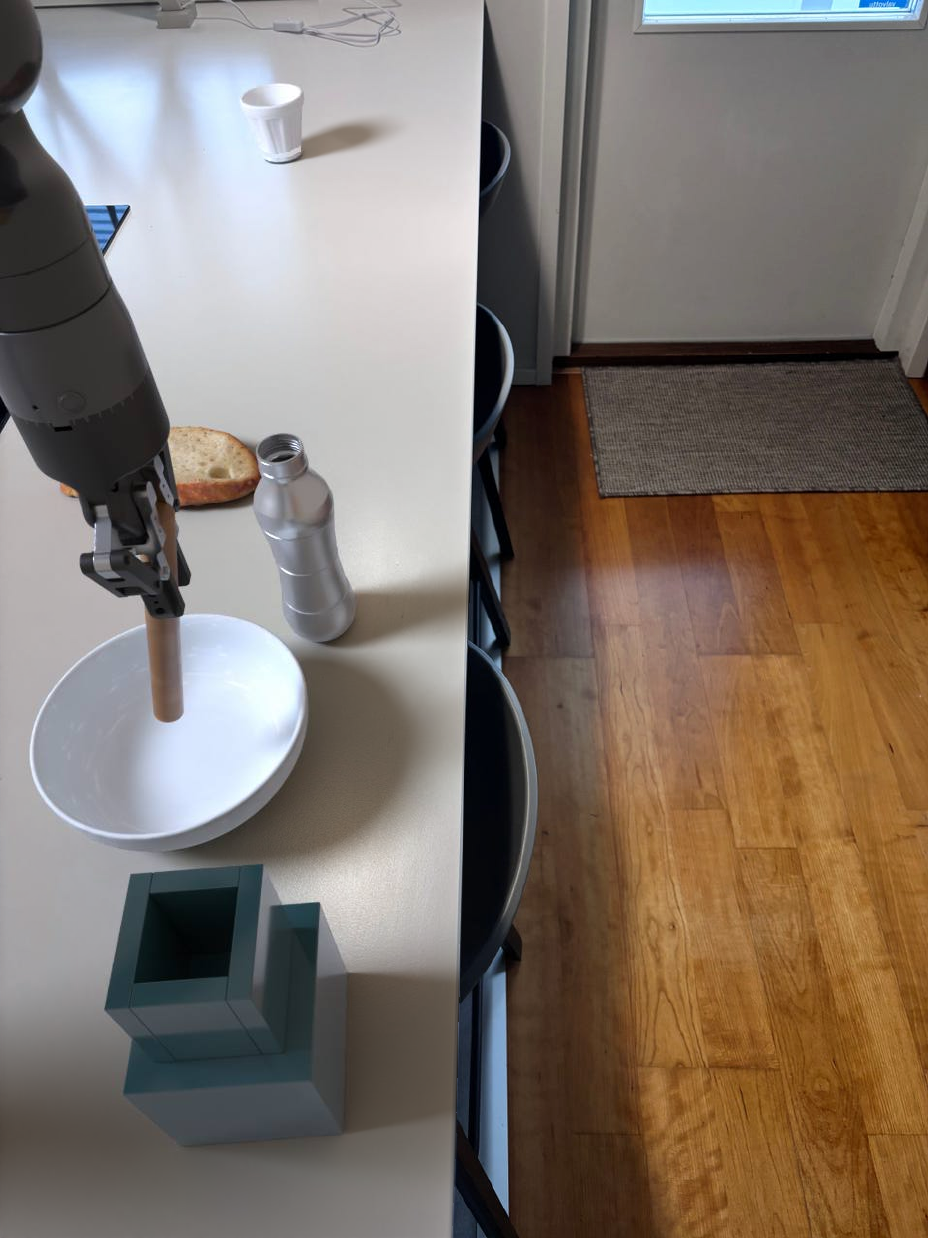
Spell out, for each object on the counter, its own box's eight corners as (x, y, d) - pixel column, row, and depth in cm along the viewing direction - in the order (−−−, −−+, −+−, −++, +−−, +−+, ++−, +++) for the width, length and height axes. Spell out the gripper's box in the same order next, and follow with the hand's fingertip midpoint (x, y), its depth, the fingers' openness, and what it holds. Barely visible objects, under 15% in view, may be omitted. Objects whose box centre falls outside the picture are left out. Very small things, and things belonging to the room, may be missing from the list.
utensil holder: (180, 1147, 58) (64, 1046, 44) (201, 983, 65) (107, 849, 50) (343, 1134, 58) (280, 1029, 44) (347, 972, 65) (294, 835, 50)
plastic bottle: (347, 588, 89) (309, 411, 74) (369, 638, 84) (332, 462, 69) (280, 609, 87) (227, 433, 72) (299, 661, 83) (246, 486, 68)
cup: (323, 158, 153) (313, 96, 146) (266, 175, 150) (253, 112, 143) (299, 137, 159) (288, 77, 152) (243, 153, 156) (229, 93, 149)
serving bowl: (343, 667, 82) (330, 614, 77) (290, 893, 69) (270, 848, 64) (115, 657, 85) (87, 605, 80) (19, 874, 71) (-21, 828, 66)
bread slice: (50, 480, 102) (36, 452, 99) (197, 409, 109) (188, 381, 106) (125, 567, 92) (112, 539, 89) (281, 483, 99) (273, 454, 97)
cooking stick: (151, 722, 70) (133, 522, 56) (156, 698, 72) (140, 497, 58) (181, 724, 71) (172, 525, 56) (185, 700, 72) (177, 501, 58)
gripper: (36, 310, 54) (135, 531, 67) (-37, 464, 45) (94, 686, 58) (166, 298, 54) (240, 522, 67) (120, 450, 45) (216, 676, 58)
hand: (172, 598), depth 62 cm, fingers closed on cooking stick, 2 cm apart
